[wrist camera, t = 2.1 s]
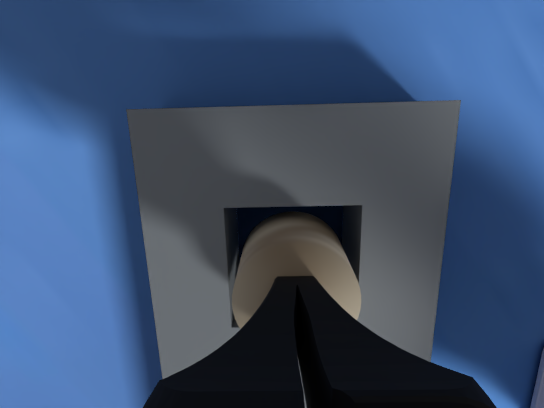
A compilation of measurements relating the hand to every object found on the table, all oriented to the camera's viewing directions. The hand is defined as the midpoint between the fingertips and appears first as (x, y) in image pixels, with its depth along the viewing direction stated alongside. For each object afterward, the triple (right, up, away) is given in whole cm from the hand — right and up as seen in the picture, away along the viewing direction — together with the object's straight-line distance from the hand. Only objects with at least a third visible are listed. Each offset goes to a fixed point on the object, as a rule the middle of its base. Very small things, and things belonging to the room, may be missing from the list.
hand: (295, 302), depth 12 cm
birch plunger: (0, +1, +3) cm, 3 cm away
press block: (0, -5, +8) cm, 9 cm away
